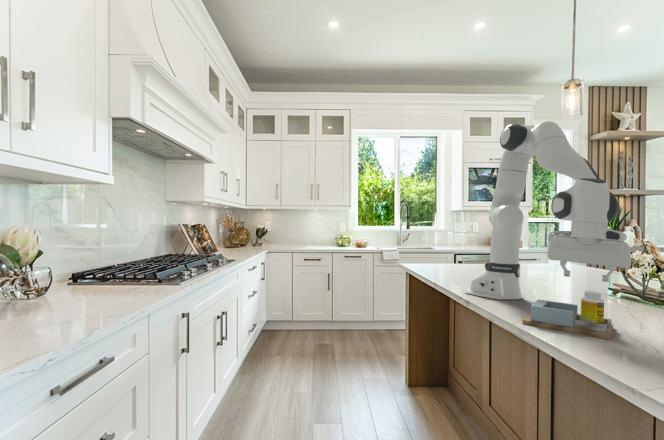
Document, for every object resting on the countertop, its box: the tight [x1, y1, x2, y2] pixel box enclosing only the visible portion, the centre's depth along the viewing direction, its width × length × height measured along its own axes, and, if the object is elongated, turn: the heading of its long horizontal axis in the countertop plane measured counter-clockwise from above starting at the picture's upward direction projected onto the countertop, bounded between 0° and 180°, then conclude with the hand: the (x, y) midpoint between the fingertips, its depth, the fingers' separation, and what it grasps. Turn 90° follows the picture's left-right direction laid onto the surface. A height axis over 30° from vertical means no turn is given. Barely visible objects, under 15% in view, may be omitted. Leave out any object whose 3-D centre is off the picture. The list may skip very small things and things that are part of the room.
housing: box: [530, 299, 579, 327], centre depth 113 cm, size 11×12×4 cm
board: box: [522, 312, 614, 341], centre depth 111 cm, size 22×14×3 cm, turn 50°
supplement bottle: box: [580, 290, 605, 324], centre depth 107 cm, size 6×6×10 cm
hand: (585, 278), depth 107 cm, fingers open, 8 cm apart
